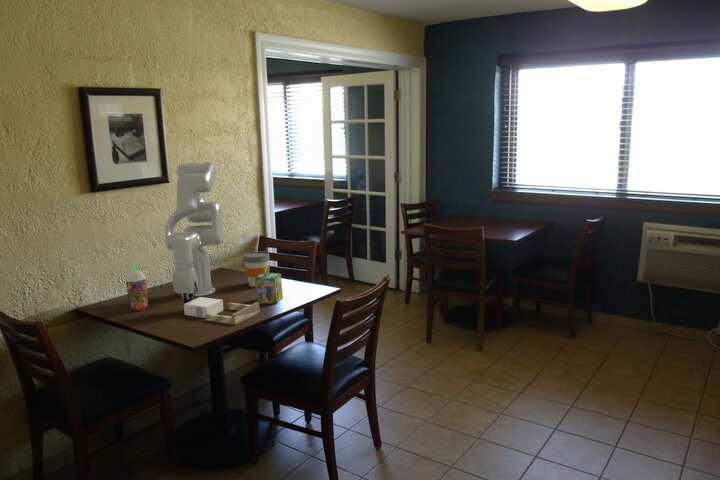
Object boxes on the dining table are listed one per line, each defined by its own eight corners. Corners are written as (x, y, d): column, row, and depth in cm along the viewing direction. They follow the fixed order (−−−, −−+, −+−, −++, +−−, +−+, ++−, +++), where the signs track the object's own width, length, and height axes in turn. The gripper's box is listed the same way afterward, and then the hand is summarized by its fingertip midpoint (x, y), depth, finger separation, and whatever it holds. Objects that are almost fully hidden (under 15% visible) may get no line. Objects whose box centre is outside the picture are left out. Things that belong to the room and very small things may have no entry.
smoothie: (130, 313, 241) (124, 267, 237) (128, 308, 248) (122, 263, 244) (151, 309, 245) (145, 264, 241) (148, 304, 252) (143, 260, 248)
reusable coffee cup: (250, 289, 269) (247, 258, 266) (241, 283, 279) (239, 253, 276) (275, 285, 275) (273, 254, 272) (266, 279, 286) (263, 249, 282)
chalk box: (276, 304, 246) (274, 271, 243) (256, 303, 248) (253, 270, 245) (283, 297, 255) (281, 265, 252) (264, 297, 256) (261, 265, 253)
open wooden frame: (206, 320, 229) (205, 311, 228) (231, 308, 243) (230, 299, 242) (236, 324, 223) (235, 315, 222) (259, 311, 237) (258, 302, 236)
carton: (184, 315, 237) (183, 304, 236) (201, 308, 246) (200, 296, 245) (207, 319, 232) (206, 307, 231) (223, 311, 241) (222, 299, 240)
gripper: (164, 266, 238) (168, 308, 242) (191, 269, 232) (196, 312, 236) (176, 262, 245) (181, 303, 249) (204, 264, 239) (208, 306, 242)
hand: (188, 307), depth 242 cm, fingers closed
